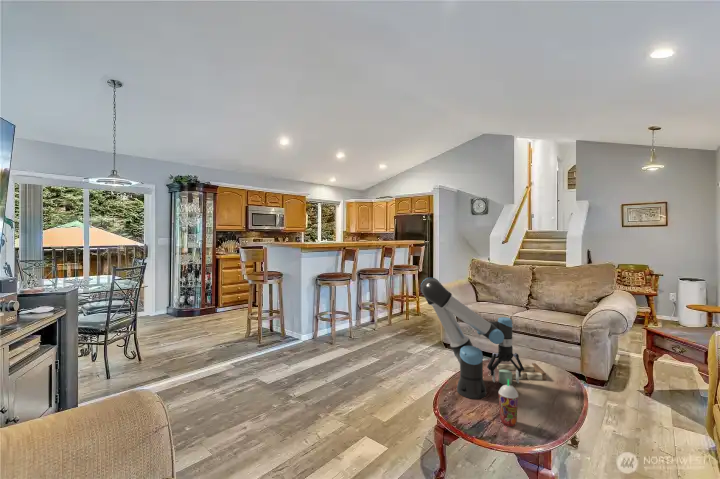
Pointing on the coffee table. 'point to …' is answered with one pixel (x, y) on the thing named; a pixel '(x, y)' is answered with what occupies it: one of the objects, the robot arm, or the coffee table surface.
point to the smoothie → (508, 404)
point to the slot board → (531, 370)
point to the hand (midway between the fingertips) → (505, 381)
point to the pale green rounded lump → (505, 377)
